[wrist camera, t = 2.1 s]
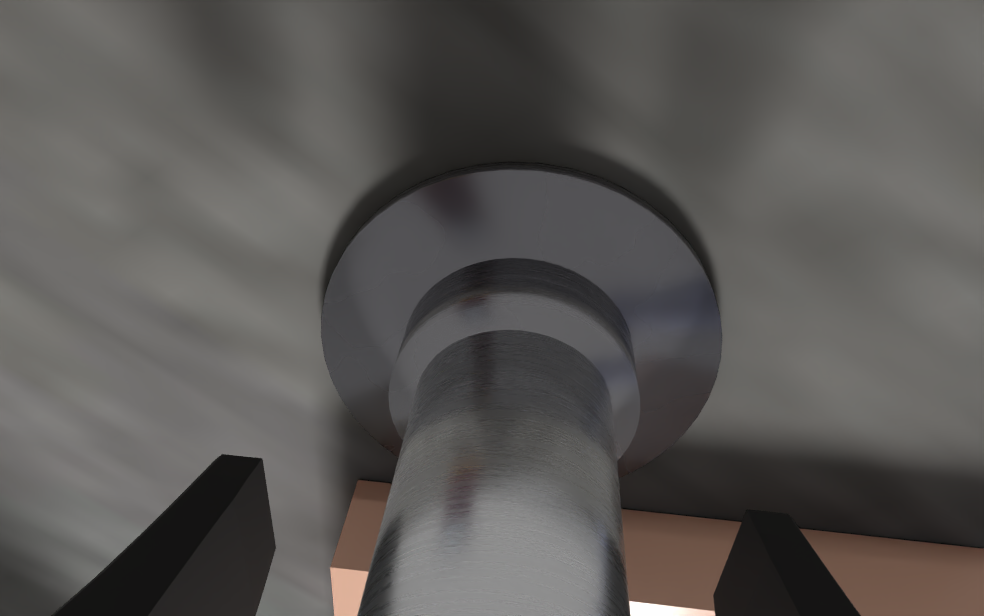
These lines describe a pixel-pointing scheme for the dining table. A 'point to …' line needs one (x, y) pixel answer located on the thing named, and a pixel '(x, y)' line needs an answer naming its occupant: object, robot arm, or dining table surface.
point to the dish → (719, 564)
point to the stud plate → (532, 235)
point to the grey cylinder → (508, 449)
